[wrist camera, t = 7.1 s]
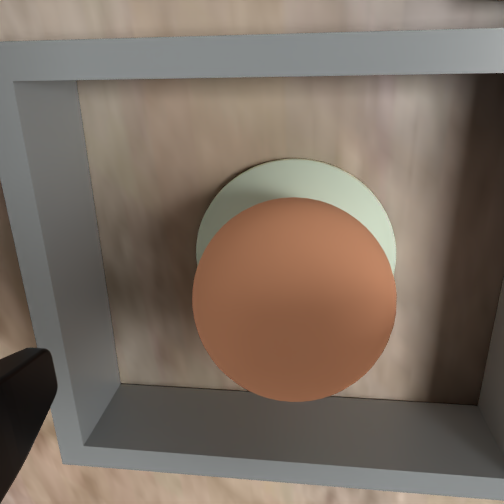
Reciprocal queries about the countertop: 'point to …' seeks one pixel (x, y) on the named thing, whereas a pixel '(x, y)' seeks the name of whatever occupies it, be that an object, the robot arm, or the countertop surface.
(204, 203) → the countertop surface
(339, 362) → the ball
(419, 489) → the grey shallow tray
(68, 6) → the countertop surface
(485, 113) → the countertop surface
